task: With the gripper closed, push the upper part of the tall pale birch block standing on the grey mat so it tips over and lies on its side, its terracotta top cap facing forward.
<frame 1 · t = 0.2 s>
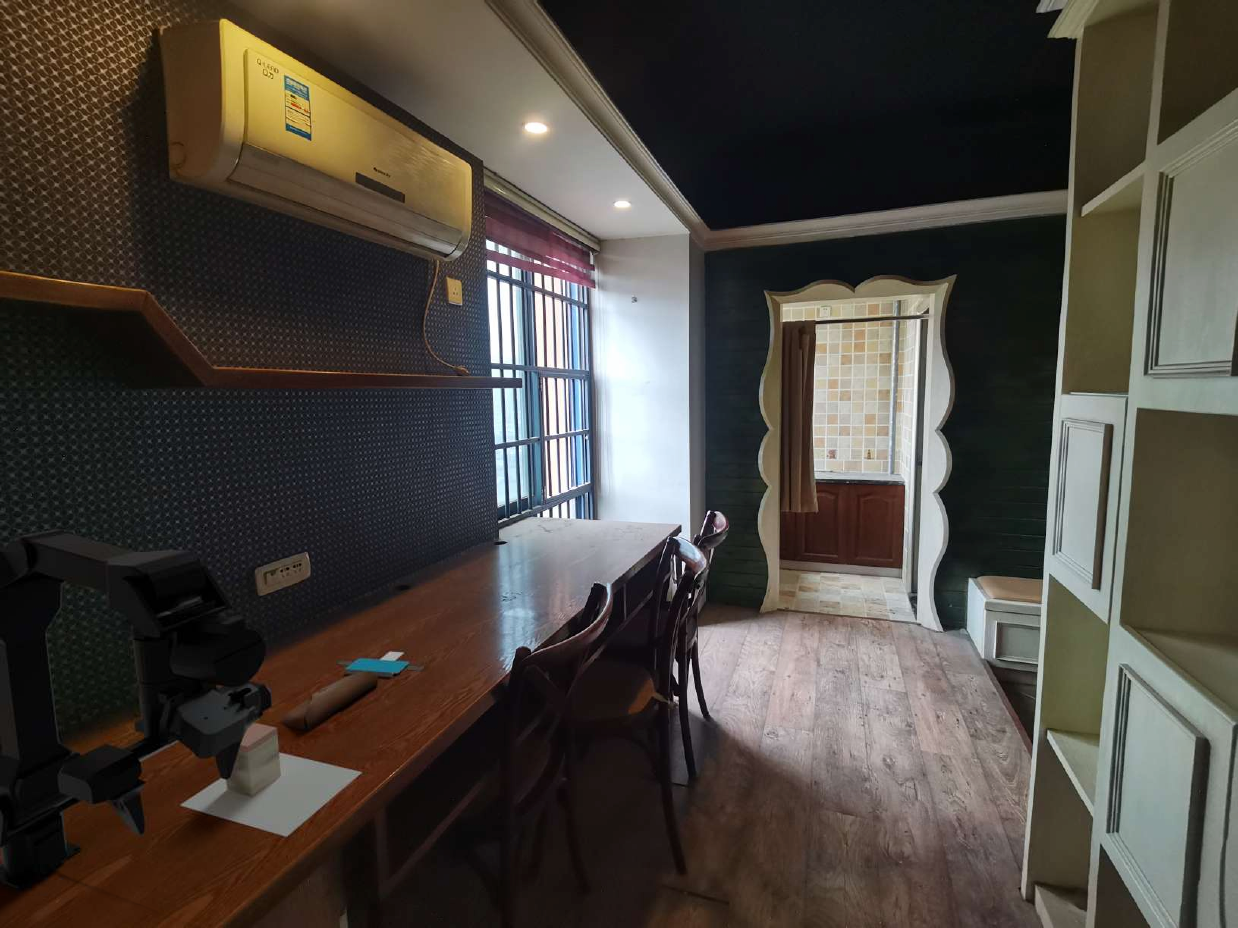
hand: (185, 804, 65), 14 cm above the table, tool pointing down, fingers open, 9 cm apart
grey mat: (274, 790, 88), on the table
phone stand: (382, 667, 129), on the table
sunglasses case: (329, 707, 113), on the table
birch block: (254, 782, 90), resting on grey mat
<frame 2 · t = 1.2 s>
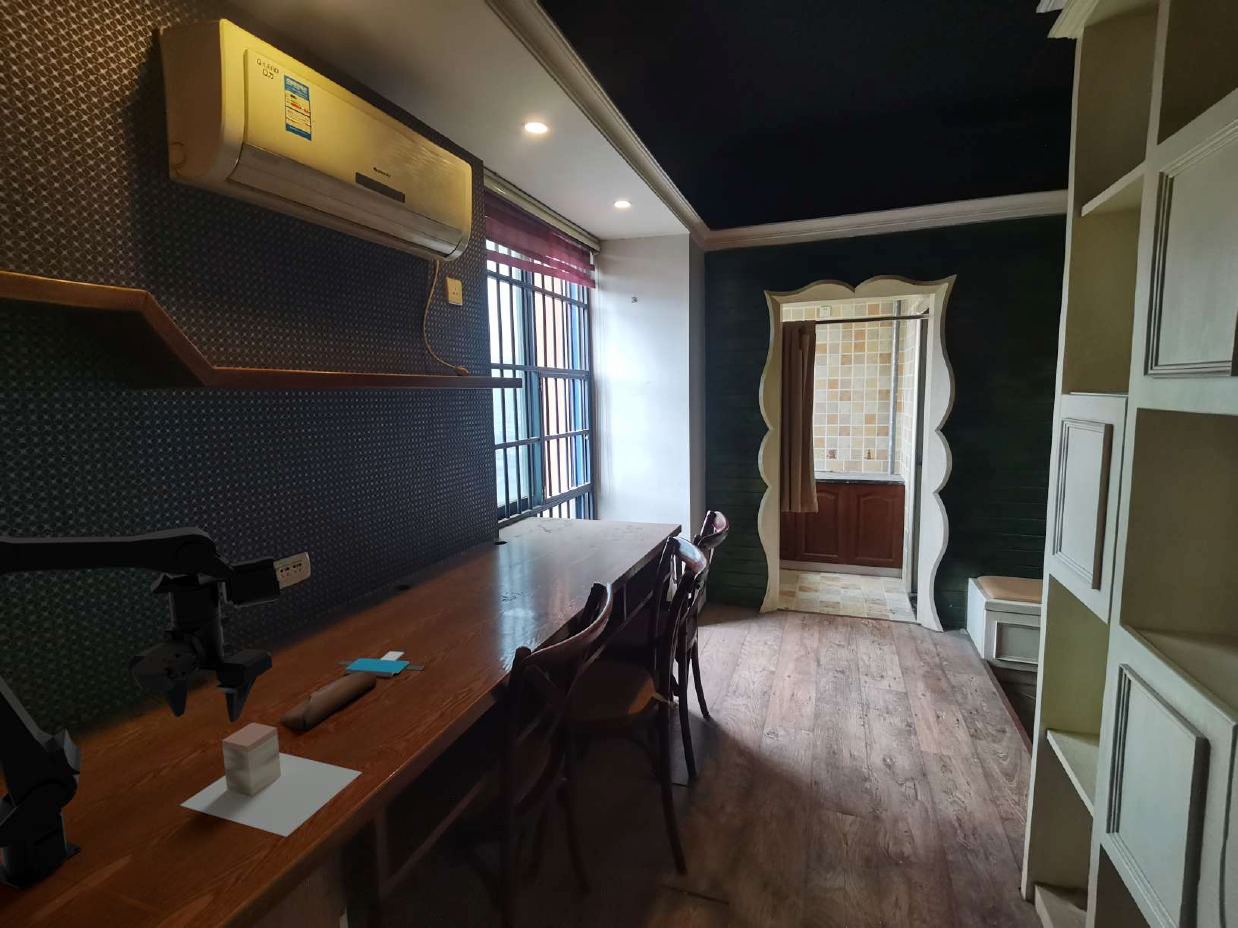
hand: (207, 718, 85), 12 cm above the table, tool pointing down, fingers open, 9 cm apart
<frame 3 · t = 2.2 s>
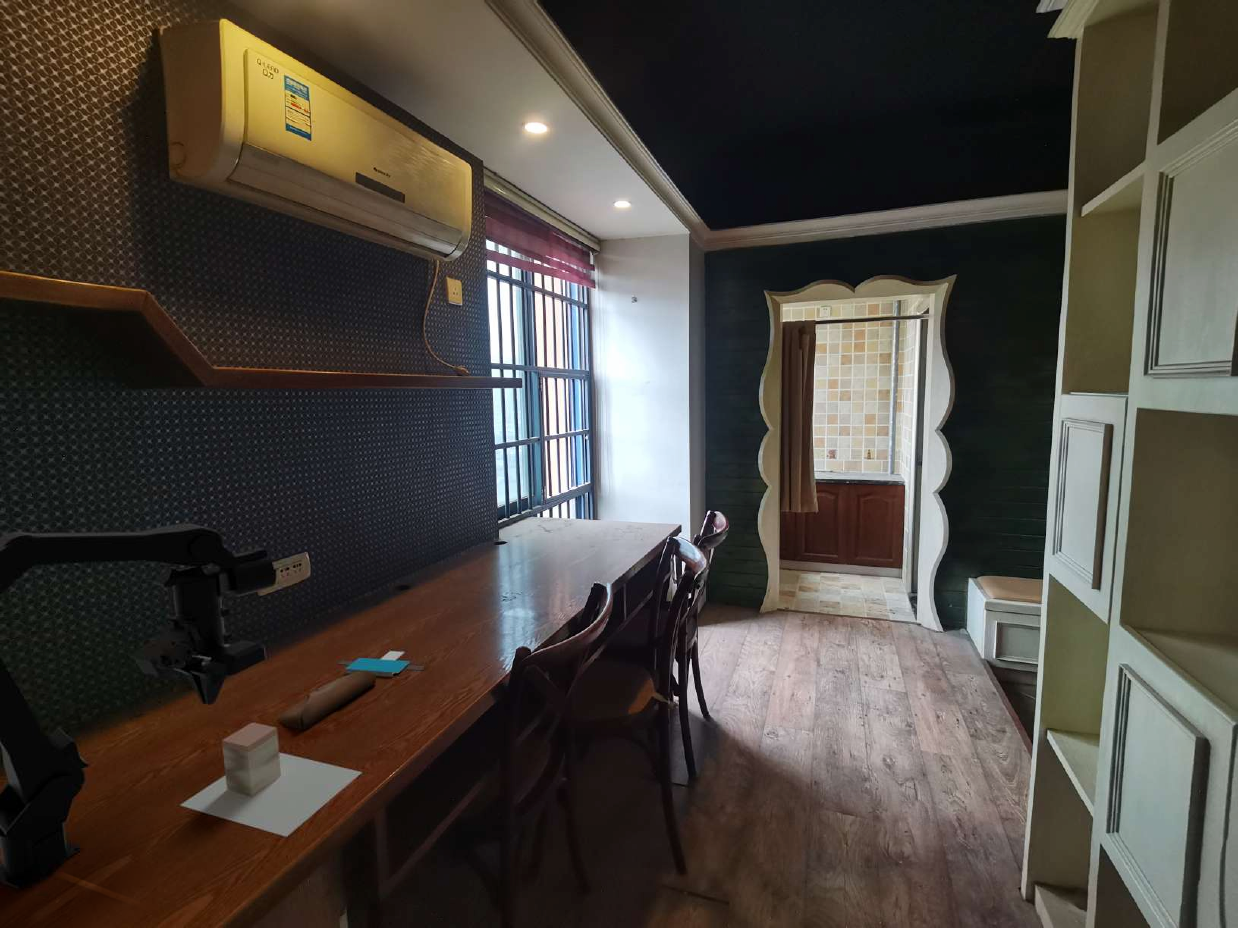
hand: (208, 703, 91), 12 cm above the table, tool pointing down, fingers closed
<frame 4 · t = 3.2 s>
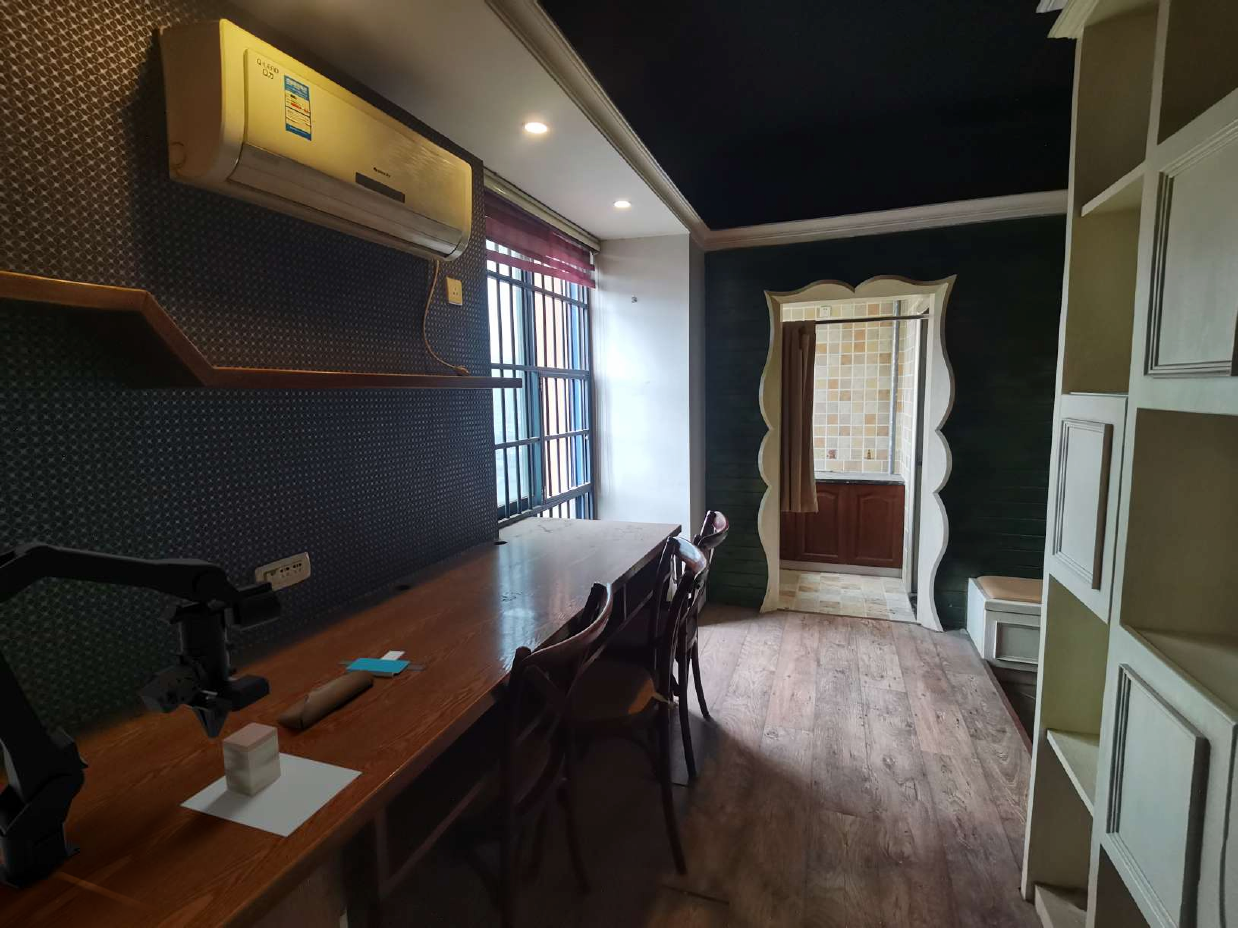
hand: (213, 736, 91), 7 cm above the table, tool pointing down, fingers closed
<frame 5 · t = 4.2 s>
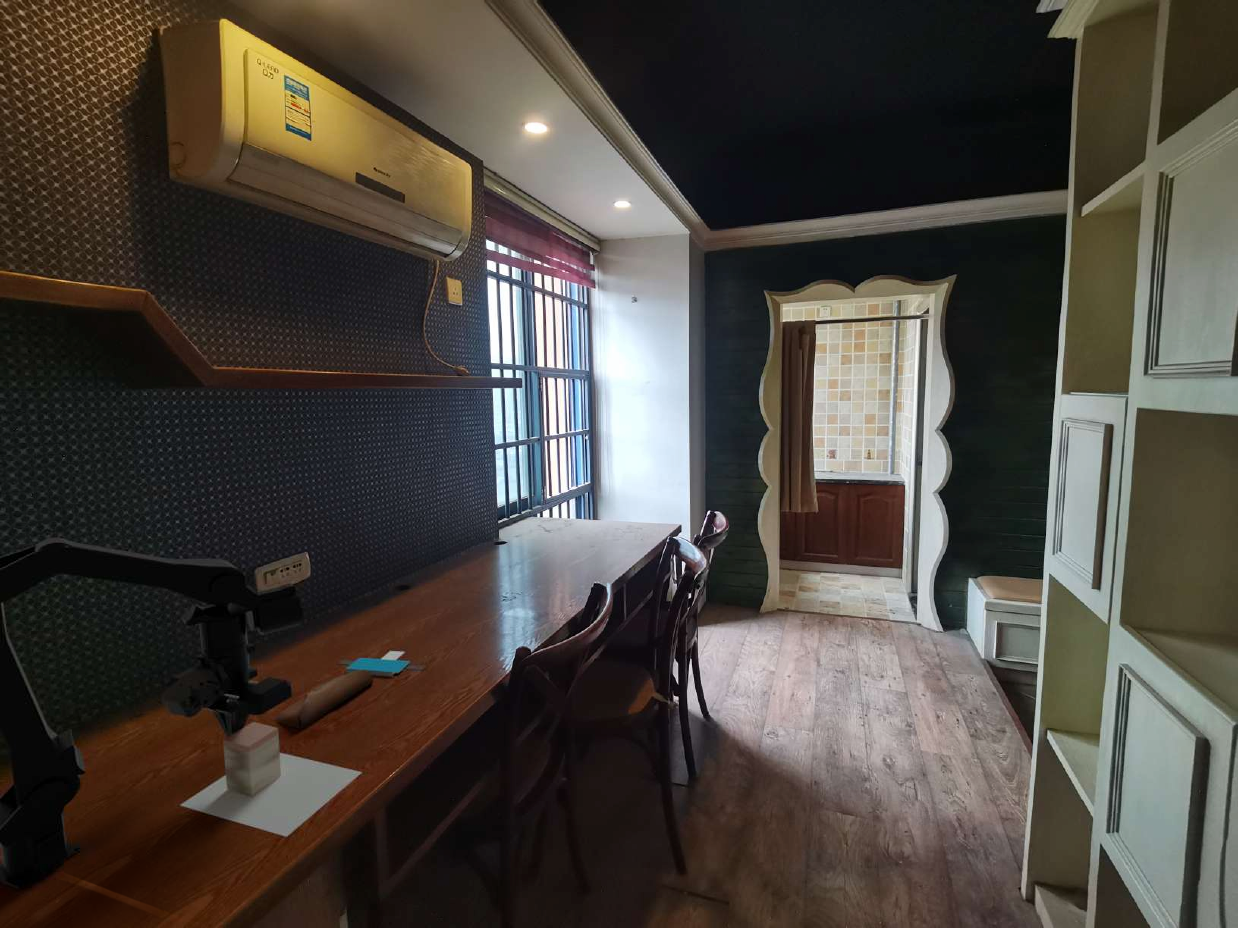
hand: (234, 740, 90), 7 cm above the table, tool pointing down, fingers closed
birch block: (254, 782, 90), resting on grey mat, touching gripper
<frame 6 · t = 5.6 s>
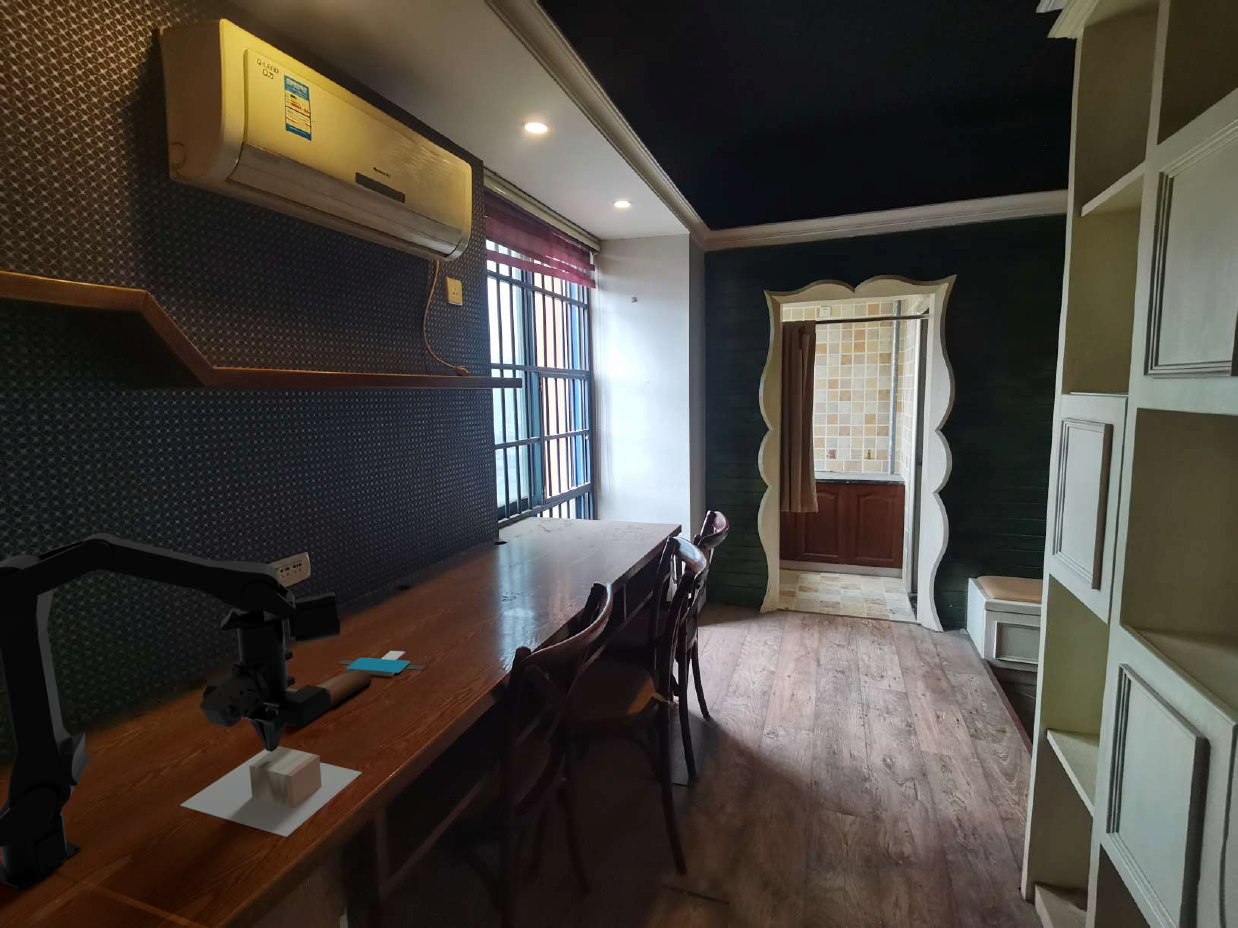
hand: (272, 749, 88), 7 cm above the table, tool pointing down, fingers closed
birch block: (265, 770, 88), point 3 cm above the table, tilted 90°, touching grey mat
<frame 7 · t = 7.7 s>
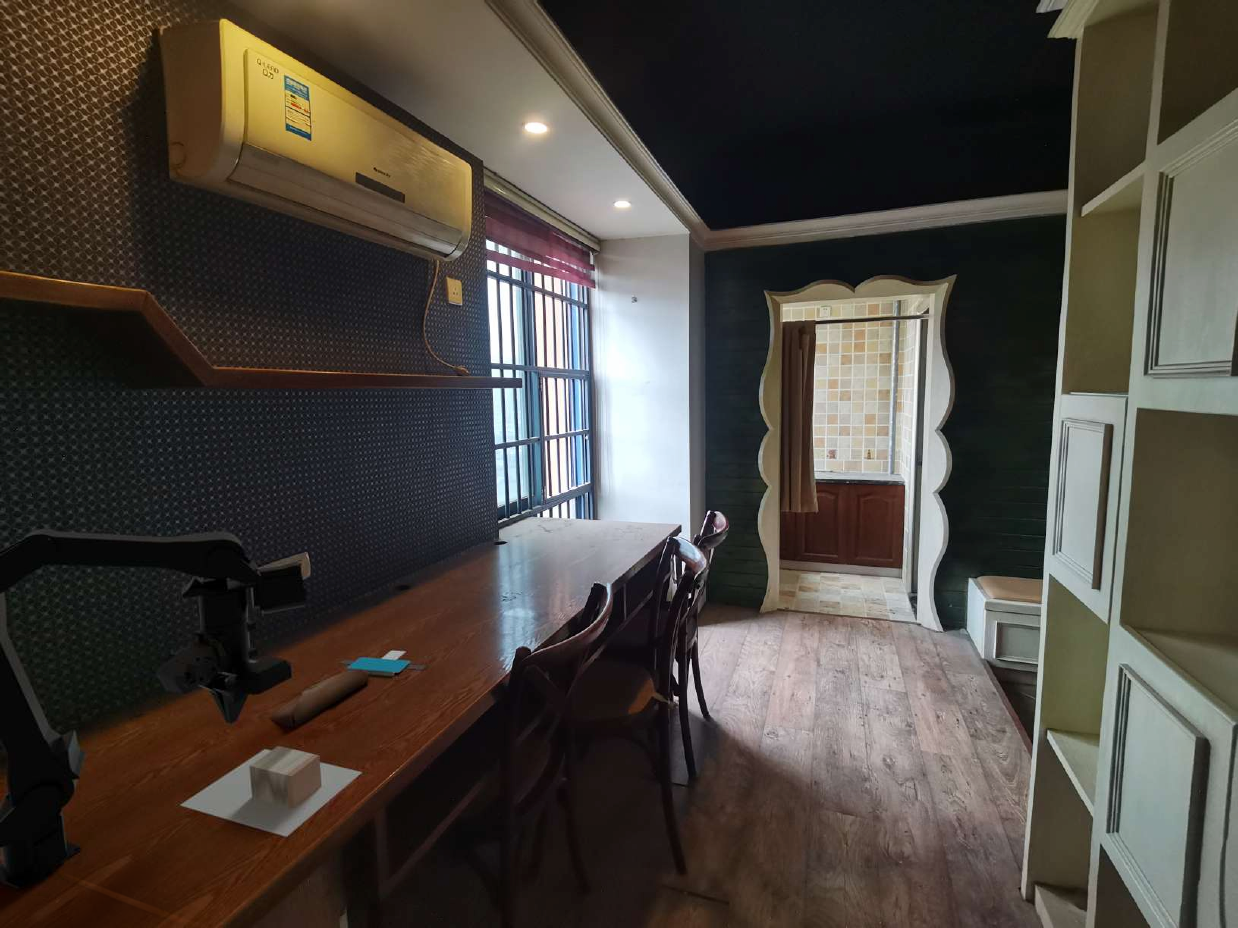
hand: (231, 722, 86), 12 cm above the table, tool pointing down, fingers closed
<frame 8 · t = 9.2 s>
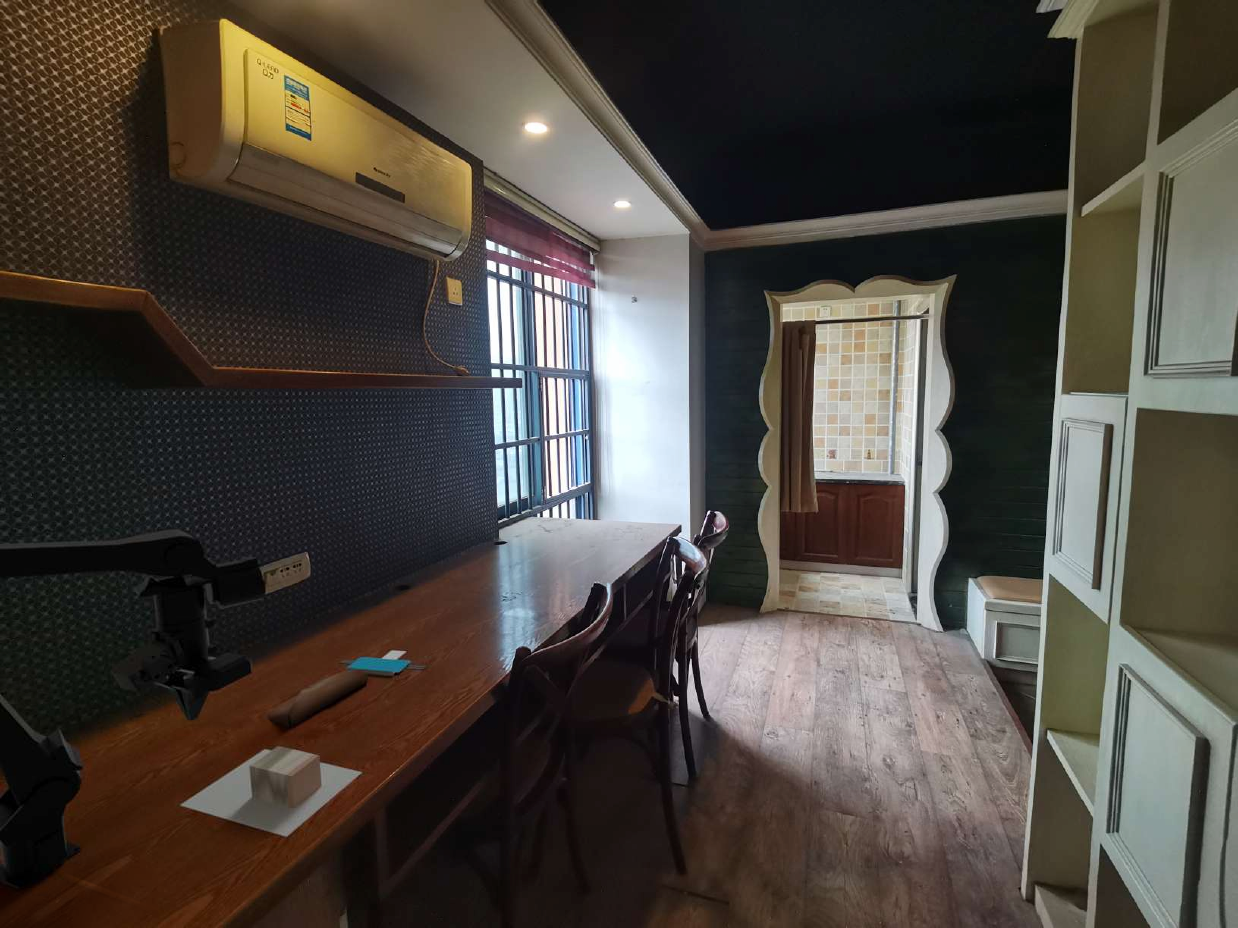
hand: (192, 719, 86), 12 cm above the table, tool pointing down, fingers closed
at the end: birch block tilted 90°; birch block inside the target area (3.5 cm from its centre), point 2.9 cm above the table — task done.
